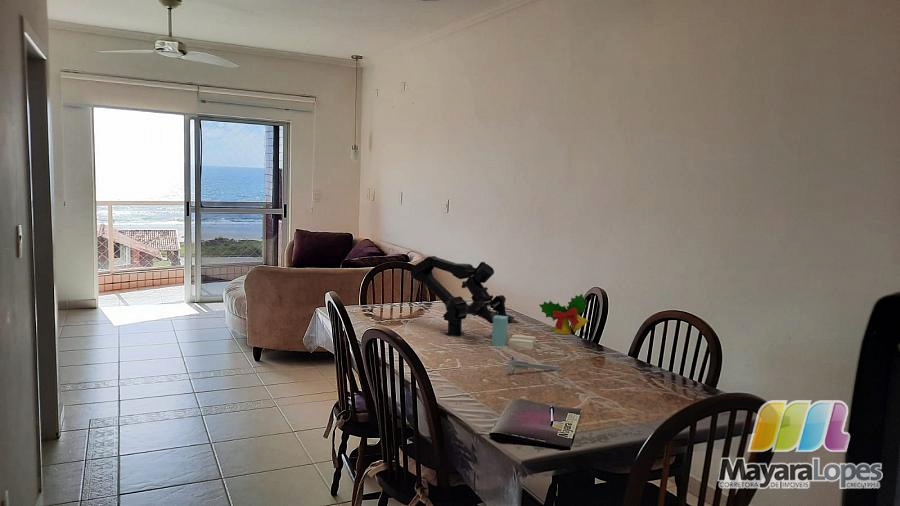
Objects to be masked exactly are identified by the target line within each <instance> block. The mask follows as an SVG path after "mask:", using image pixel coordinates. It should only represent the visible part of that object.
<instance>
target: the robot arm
mask: <svg viewBox="0 0 900 506" xmlns="http://www.w3.org/2000/svg"><path fill="white" fill-rule="evenodd" d="M434 268H436V269H438V270H442V271H443V272H448V273H450V274H452V276H453V277H454V278H456V279H458V280H464V281H462V284H461V289H465V288H466V289H468V291H469V293H470V294H471V297H470V298H471V300H472V303H471V302H470V303H469V304H468V301H466V300H465V299H464V298H463V297H462V296H461V295H460V296H453V295H452V294H451V292H450V291H449V290H447V289H446V287H444V286H443V285H442V283H440V282H439V280H437V278H435V276H434V275H433V270H434ZM494 274H495V270H494V268H493V267H492V266H490V265H489V264H487V263H486V262H485V261H481V262H479V264H478V266H477V267H474V265H472V264H471V263H457V262H453V261H449V260H446V259H443V258H441V257H437V256H435V255H429V256H427V257H426V258H424V259H423V260H421V261H420V262H418V263H417V264H414V265H412V266H411V267H410V276H411V278H412V279H414V280H415V281H417V282H420V283H422V284H424V285H425V286H426V287H427V288H428V289H429V290H430V291H431V292H432V293H433V294H434V295H435V296H436V297H437V298H438V299H439V300H440V301H441V302H442V303H443V304H444V306H445V310H446V312H445V313H443V316H442V317H443V320H444V321H447V331H446V332H445V335H446V336H454V337H455V336H456V337H460V336H462V335H464V333H465V332H464V330H463V331H462V328H463V327H462V325H463V324H462V322H463V320H465V319H467V315H472V316H473V317H475V316H477V315H480V316H481V317H480V316H479V317H480V318H482V317H483V318H482V319H484V320H485V321H486V322H488V323H489V324H491V325H493V320H492V317H491V315H490V312H489V308H490V309H491V308H492V311H493V312H496V311H497V312H498V313H499V315H500V316H506V314H507V311H506V304H505V303H506V300H507V299H506V297H505V295H502V294H501V295H500V294H499V295H495V297H494V296H493V294H492V295H490V293H489V292H488V290H489V288H488V287H485V286H484V285H483V284H485V283H486V282H488V281H489V280H490V278H491V277H492V276H493V275H494Z"/></svg>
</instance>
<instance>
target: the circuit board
mask: <svg viewBox="0 0 900 506" xmlns="http://www.w3.org/2000/svg"><path fill="white" fill-rule="evenodd" d="M488 310H489V312H490V315H491V317H492V320H493V317H494V316H495V315H498V316H500V315H499V313H498V312H497V311H494V310H491V307H488ZM506 316H508V324H519V323H520V322H519V321H517V320H515V319H516V317H515V316H513V315H510V314H508V313H506ZM478 317H480V318H482V319H484V318H483V317H481V316H480V315H478ZM514 318H515V319H514Z"/></svg>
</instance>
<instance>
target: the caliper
mask: <svg viewBox="0 0 900 506" xmlns="http://www.w3.org/2000/svg"><path fill="white" fill-rule="evenodd" d="M519 368H520V369H522V370H526V371H527V370H528V369H537V370H538V369H539V370H545V371H547V370H548V371H554V372H557V371H563V368H562V367H560V366H558V365H549V364H541V363H535V362H534V363H533V362H529V361H527V360H521V359H517V356H513V355H512V356H511V358H510V359H509V361H508V363H507V374H508V375H511V374H512V375H516V374H517V372H518V370H519Z"/></svg>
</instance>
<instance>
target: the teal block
mask: <svg viewBox="0 0 900 506" xmlns="http://www.w3.org/2000/svg"><path fill="white" fill-rule="evenodd" d="M508 328H509V327H508V316H498V315H495V316H494V317H493V323H492V329H491V330H492V333H491V335H492V336H491V346H495V347H496V346H497V347H505V346H506V345H507V343H508Z"/></svg>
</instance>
